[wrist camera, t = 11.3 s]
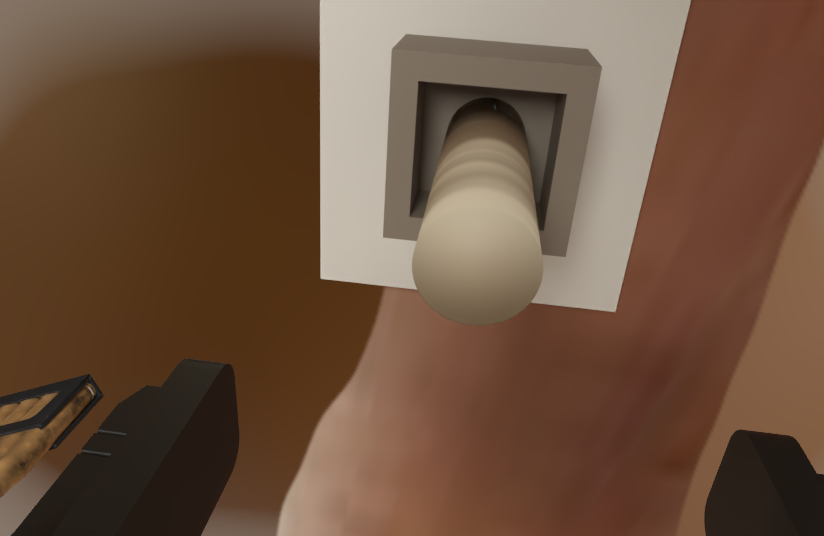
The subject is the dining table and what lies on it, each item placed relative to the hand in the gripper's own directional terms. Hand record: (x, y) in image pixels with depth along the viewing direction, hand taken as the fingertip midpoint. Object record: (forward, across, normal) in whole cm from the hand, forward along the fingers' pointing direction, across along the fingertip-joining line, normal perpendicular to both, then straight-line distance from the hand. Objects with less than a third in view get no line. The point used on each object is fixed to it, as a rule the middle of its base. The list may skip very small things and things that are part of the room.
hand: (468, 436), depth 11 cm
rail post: (+18, 0, 0) cm, 18 cm away
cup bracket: (+24, 0, 0) cm, 24 cm away
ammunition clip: (+24, +29, +23) cm, 44 cm away
